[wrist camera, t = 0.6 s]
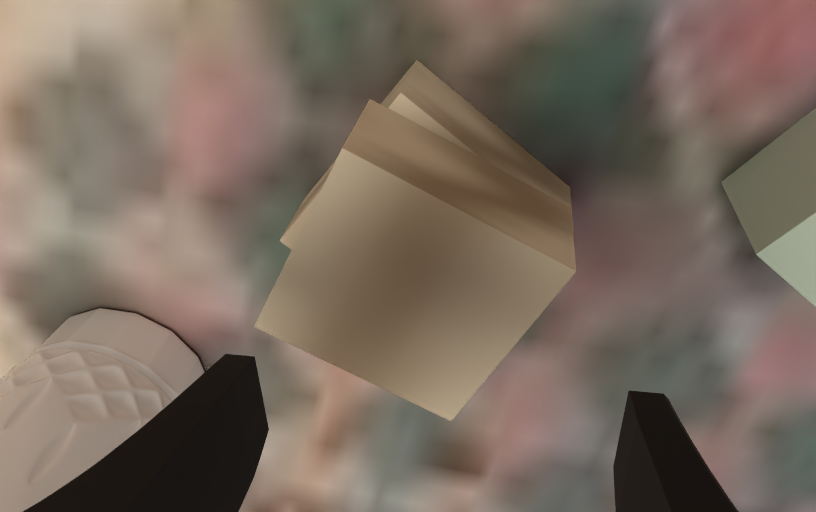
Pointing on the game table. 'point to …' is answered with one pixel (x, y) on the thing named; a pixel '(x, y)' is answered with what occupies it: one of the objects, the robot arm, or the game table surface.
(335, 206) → the slab upper
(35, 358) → the white cup
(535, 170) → the slab lower
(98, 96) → the game table surface
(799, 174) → the cube
